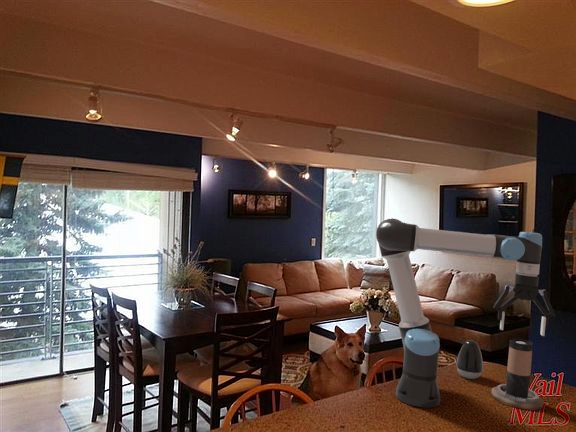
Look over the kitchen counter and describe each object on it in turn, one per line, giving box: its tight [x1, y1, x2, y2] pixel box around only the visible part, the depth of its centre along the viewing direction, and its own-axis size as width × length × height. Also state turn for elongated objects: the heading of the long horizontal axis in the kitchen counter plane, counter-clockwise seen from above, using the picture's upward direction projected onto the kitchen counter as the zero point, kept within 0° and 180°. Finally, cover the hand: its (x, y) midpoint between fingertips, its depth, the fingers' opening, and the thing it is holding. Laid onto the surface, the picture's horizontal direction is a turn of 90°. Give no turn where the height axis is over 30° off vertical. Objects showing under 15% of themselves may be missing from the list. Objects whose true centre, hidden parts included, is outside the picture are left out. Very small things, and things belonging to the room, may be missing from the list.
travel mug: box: [505, 338, 534, 398], centre depth 168 cm, size 8×8×20 cm
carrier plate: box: [490, 383, 544, 411], centre depth 169 cm, size 17×17×3 cm
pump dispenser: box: [455, 338, 484, 380], centre depth 189 cm, size 10×10×15 cm
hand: (521, 332), depth 168 cm, fingers open, 13 cm apart
